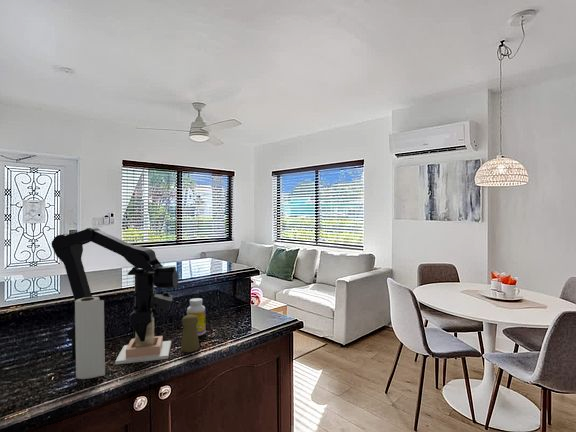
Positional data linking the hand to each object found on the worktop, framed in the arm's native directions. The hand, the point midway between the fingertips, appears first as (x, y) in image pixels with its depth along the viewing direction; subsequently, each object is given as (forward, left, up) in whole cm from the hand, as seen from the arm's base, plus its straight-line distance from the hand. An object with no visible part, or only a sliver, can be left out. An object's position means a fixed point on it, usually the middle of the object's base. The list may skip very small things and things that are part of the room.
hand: (145, 336), depth 110 cm
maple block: (0, 0, -4) cm, 4 cm away
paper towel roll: (-13, -12, -6) cm, 19 cm away
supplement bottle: (+16, +14, -6) cm, 22 cm away
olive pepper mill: (+14, 0, -6) cm, 15 cm away
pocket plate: (0, 0, -6) cm, 6 cm away
